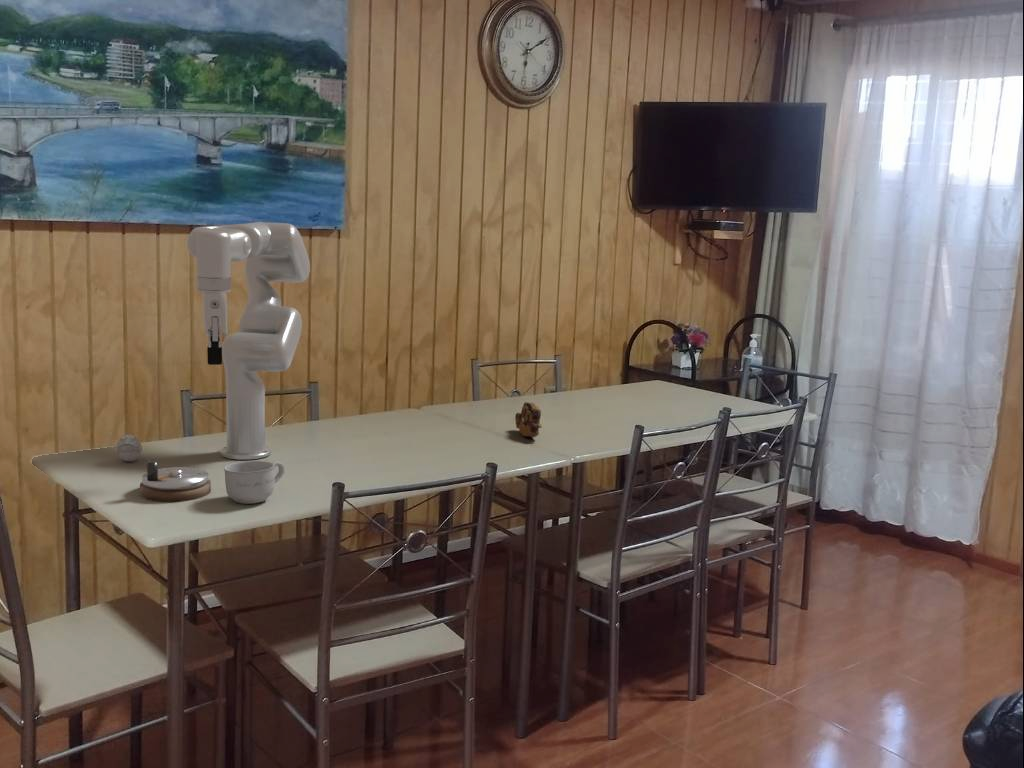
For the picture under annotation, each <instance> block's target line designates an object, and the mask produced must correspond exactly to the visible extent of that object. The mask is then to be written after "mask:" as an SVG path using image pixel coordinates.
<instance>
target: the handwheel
mask: <svg viewBox="0 0 1024 768" xmlns="http://www.w3.org/2000/svg"><path fill="white" fill-rule="evenodd" d="M208 479H209V472H207V471H206V470H205V469H202V468H198V467H190V466H189V467H188V466H173V467H172V466H171V467H170V466H169V467H162V468H159V467H158V461H156V460H149V461H147V462H146V472H145V473H143V475H141V482H142V485H143V486H144V487H146V488H149V489H153V490H160V491H180V490H188V489H194V488H198V487H201V486H203V485H205V484H207V483H208Z"/></svg>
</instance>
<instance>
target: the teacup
mask: <svg viewBox="0 0 1024 768" xmlns="http://www.w3.org/2000/svg"><path fill="white" fill-rule="evenodd" d="M275 467H278V472H277V473H276V475H275ZM223 470H224V482H225V483H224V484H225V489H226V490H225V491H226V494H227V496H228V497H229V498H231V499H232V500H234V502H236V503H238V504H248V505H251V504H258V503H262V502H264V501H266V500H267V499H268V498H269V497H270V496H271V495H272V494H273V493H274V490H275V485H276V483H277V482H278V481H280V479H281V478H282V477H283V476H284V474H285V467H284V464H283V463H282V462H280V461H273V462H270V461H266V460H246V461H245V460H244V461H238V462H233V463H229V464H227V465H225V466H224V467H223Z"/></svg>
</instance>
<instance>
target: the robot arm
mask: <svg viewBox="0 0 1024 768" xmlns="http://www.w3.org/2000/svg"><path fill="white" fill-rule="evenodd" d="M186 242H187V243H186V244H187V245H186V246H187V249H188V252H189V254H190V256H192V257H193V258H194V259H195V261H196V262H195V263H196V291H197V292H199V293H202V295H201V296H202V317H203V327H204V332H205V335H206V336H207V338H208V339H207V340H208V341H207V342H208V343H207V344H208V346H207V351H206V352H207V353H206V354H207V365H209V366H210V365H211V366H213V365H215V366H217V365H218V366H219V365H222V364H223V366H224V367H223V368H224V372H225V387H226V388H225V391H226V393H225V395H226V397H225V398H226V399H225V400H226V407H225V409H226V414H225V415H226V446H225V447H222V448H221V449H220V456H221V457H223V458H227V459H229V460H230V459H231V460H241V461H243V460H244V461H245V460H246V461H250V460H257V459H262V458H266V457H269V456H270V455H271V453H272V449H271V448H270V447H269V446H267V445H266V443H265V442H266V428H265V426H266V423H265V422H266V420H265V419H266V417H265V416H266V411H265V410H266V409H265V408H266V403H265V402H266V399H265V397H266V389H265V388H266V387H265V385H264V382H263V380H262V378H261V377H260V375H259V374H258V373H257V372H260V371H261V372H276V373H277V372H279V373H280V372H285V371H287V370H288V369H289V367H290V366H291V363H293V362H292V361H293V358H294V356H295V353H296V350H297V347H298V344H299V341H300V338H301V336H302V331H303V330H302V329H303V319H302V316H301V313H300V311H299V310H297V309H296V308H295V307H291V306H283V305H282V299H281V298H282V297H281V296H280V295H279V292H278V291H277V289H276V288H274V287H273V285H272V284H271V283H269V282H277V283H278V282H279V283H293V284H294V283H303V282H304V281H306V280H307V279H308V278H309V276H310V273H311V263H310V258H309V255H308V252H307V248H306V246H305V243H304V240H303V237H302V235H301V233H300V232H299V230H298V229H297V227H296V226H294V224H291V223H287V222H286V223H285V222H267V221H266V222H264V221H255V222H247V223H236V224H225V225H212V226H211V225H210V226H199V227H198V226H197V227H195V228H193V229H192V230H191V232H189V235H188V237H187V241H186ZM244 260H245V263H244V265H245V266H244V268H245V276H246V278H245V279H246V284H247V289H248V295H249V297H248V299H247V302H246V303H245V306H244V309H243V311H242V313H241V317H240V319H239V322H238V323H239V324H238V331H239V332H234V333H230V334H228V333H229V332H228V329H229V328H228V296H227V293H231V292H232V276H231V275H232V272H231V271H232V270H231V268H232V267H231V266H232V265H231V263H232V262H242V261H244ZM222 334H224V336H225V338H224V339H223V342H222Z"/></svg>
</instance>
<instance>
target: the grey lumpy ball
mask: <svg viewBox="0 0 1024 768" xmlns="http://www.w3.org/2000/svg"><path fill="white" fill-rule="evenodd" d="M142 450H143V446H142V444H141V441H140V439H138V438H137V437H136V436H134V435H132V434H125V435H124V436H120V437H119V439H118V440H117V443H116V446H115V451H116V452H117V454H118V457H120V459H121V460H122V461H124V462H129V463H130V462H134V461H136V460H138V458H139V457H140V454H141V452H142Z"/></svg>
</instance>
